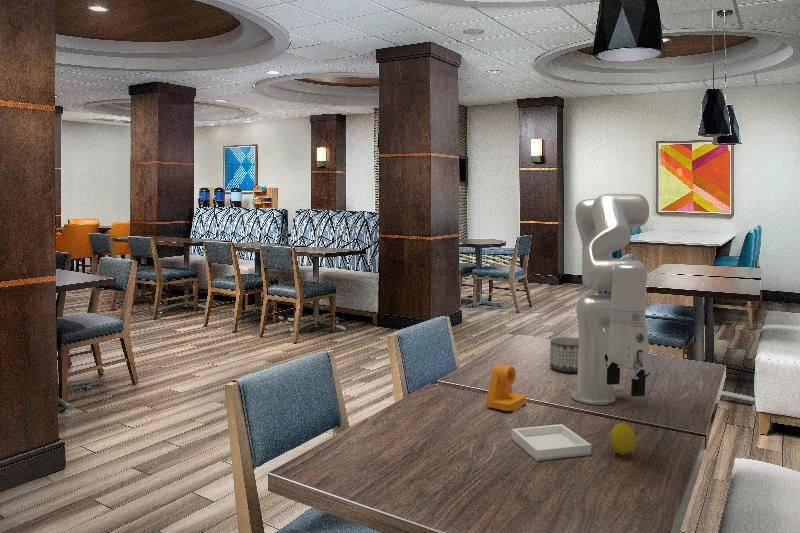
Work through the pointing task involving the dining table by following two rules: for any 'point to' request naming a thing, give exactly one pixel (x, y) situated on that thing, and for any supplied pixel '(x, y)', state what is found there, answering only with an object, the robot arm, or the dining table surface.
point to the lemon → (622, 438)
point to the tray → (550, 442)
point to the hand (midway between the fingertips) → (625, 389)
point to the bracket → (503, 390)
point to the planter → (564, 354)
